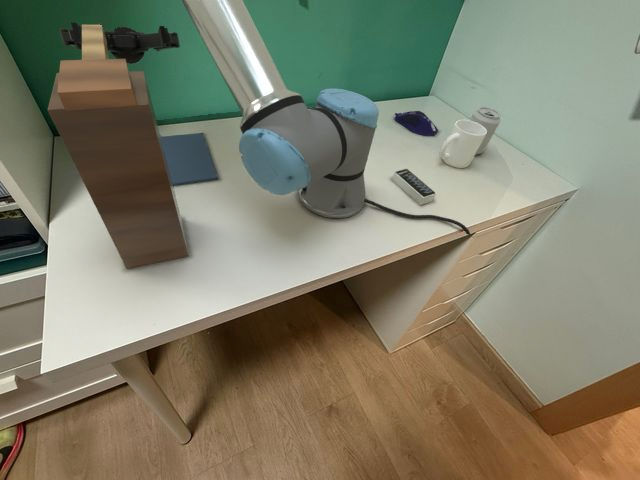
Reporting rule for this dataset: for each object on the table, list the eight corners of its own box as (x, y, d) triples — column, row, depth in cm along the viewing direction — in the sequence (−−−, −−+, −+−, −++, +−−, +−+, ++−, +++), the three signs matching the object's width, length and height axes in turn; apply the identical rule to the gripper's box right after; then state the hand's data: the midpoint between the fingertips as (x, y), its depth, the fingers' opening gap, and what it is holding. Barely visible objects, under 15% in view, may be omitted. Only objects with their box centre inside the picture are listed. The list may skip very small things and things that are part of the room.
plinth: (125, 229, 61) (56, 72, 41) (181, 219, 65) (143, 70, 45) (126, 269, 55) (47, 109, 35) (188, 256, 59) (148, 104, 39)
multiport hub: (420, 205, 77) (423, 197, 76) (391, 179, 83) (393, 171, 82) (433, 200, 79) (436, 193, 78) (404, 175, 85) (406, 168, 84)
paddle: (69, 39, 49) (63, 24, 47) (122, 39, 51) (118, 24, 50) (65, 111, 35) (57, 92, 34) (136, 105, 38) (131, 88, 37)
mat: (154, 139, 83) (153, 137, 82) (203, 134, 87) (202, 132, 86) (161, 187, 71) (160, 185, 70) (218, 179, 75) (217, 177, 74)
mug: (443, 173, 88) (460, 139, 81) (424, 156, 93) (438, 123, 85) (475, 166, 93) (493, 133, 85) (455, 150, 98) (471, 118, 90)
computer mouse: (431, 139, 100) (436, 127, 97) (387, 122, 105) (391, 110, 102) (440, 128, 106) (445, 116, 103) (398, 112, 110) (402, 101, 107)
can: (458, 152, 97) (477, 113, 88) (457, 140, 102) (475, 102, 93) (483, 158, 96) (505, 120, 87) (481, 146, 101) (502, 108, 92)
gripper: (186, 64, 81) (199, 57, 64) (67, 64, 72) (43, 57, 54) (180, 28, 78) (191, 12, 61) (54, 24, 68) (24, 2, 51)
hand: (121, 33), depth 58 cm, fingers open, 13 cm apart
